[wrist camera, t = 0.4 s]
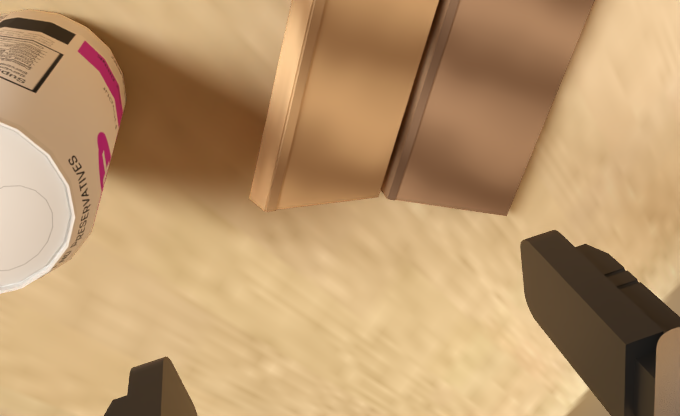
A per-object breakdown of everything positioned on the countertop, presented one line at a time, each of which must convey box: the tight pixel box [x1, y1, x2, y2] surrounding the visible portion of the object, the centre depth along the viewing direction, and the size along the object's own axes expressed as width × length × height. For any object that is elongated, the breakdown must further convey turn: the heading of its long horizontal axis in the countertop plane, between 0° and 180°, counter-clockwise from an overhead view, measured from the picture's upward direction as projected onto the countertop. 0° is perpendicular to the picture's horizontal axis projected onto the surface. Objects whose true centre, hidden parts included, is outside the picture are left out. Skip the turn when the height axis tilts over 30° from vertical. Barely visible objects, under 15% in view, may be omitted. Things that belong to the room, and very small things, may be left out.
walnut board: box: [381, 0, 594, 216], centre depth 37 cm, size 20×9×2 cm, turn 165°
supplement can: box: [0, 9, 126, 294], centre depth 27 cm, size 8×8×15 cm
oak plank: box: [249, 0, 439, 212], centre depth 33 cm, size 20×9×2 cm, turn 165°
